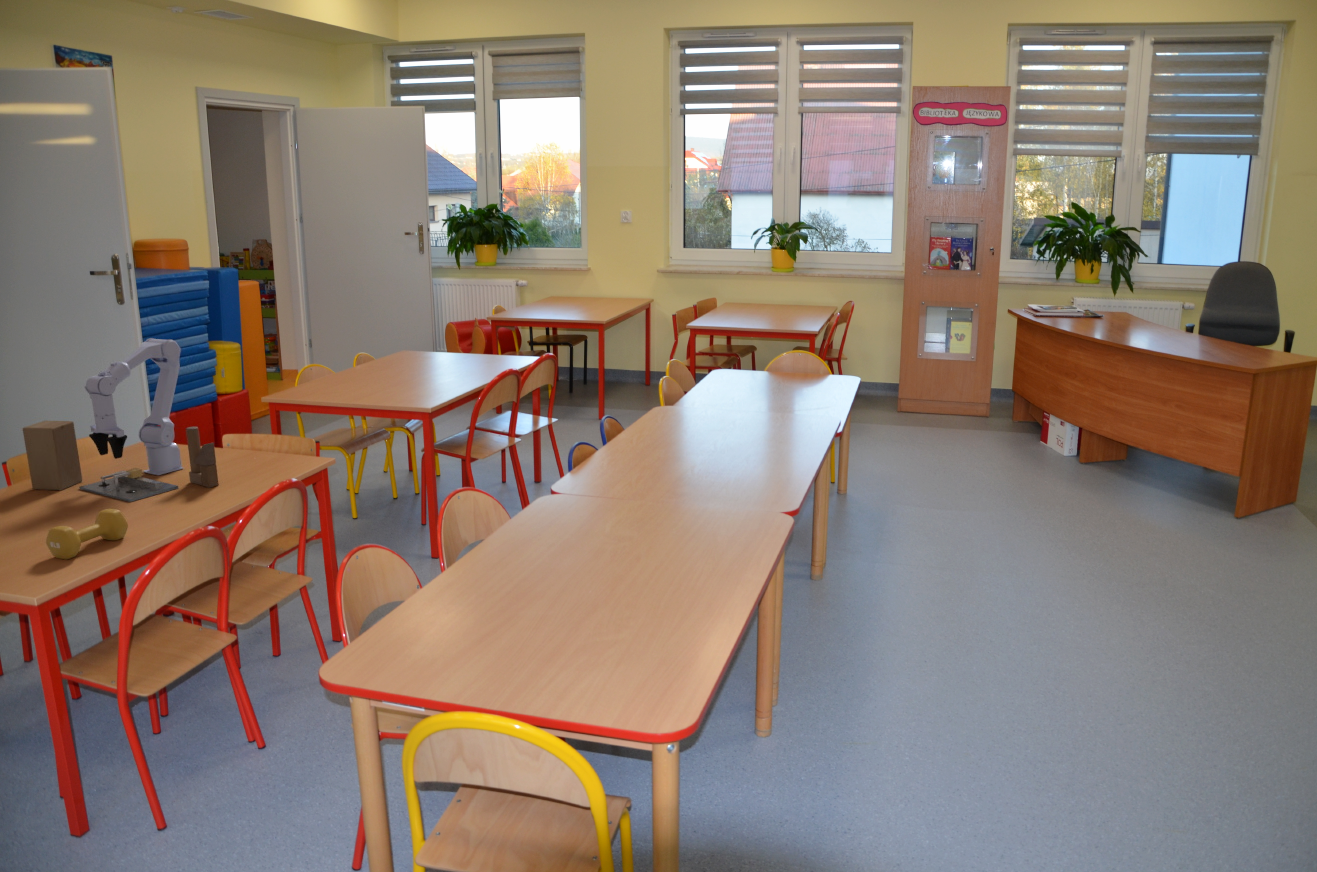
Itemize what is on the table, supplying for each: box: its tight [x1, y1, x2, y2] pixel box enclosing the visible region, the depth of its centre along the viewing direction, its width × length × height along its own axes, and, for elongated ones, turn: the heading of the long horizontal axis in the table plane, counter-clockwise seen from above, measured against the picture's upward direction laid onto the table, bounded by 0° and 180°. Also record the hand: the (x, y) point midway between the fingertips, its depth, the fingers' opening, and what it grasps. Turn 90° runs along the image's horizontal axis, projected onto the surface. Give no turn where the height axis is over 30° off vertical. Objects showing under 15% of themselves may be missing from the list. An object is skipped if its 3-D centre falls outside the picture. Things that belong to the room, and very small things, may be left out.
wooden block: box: [22, 420, 83, 491], centre depth 304 cm, size 10×10×20 cm
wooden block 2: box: [185, 426, 220, 489], centre depth 306 cm, size 4×11×18 cm, turn 55°
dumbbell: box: [45, 508, 129, 560], centre depth 253 cm, size 19×9×8 cm, turn 160°
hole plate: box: [78, 470, 179, 503], centre depth 303 cm, size 16×26×4 cm, turn 60°
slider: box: [112, 467, 143, 487], centre depth 303 cm, size 8×3×4 cm, turn 150°
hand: (111, 456), depth 303 cm, fingers open, 7 cm apart
